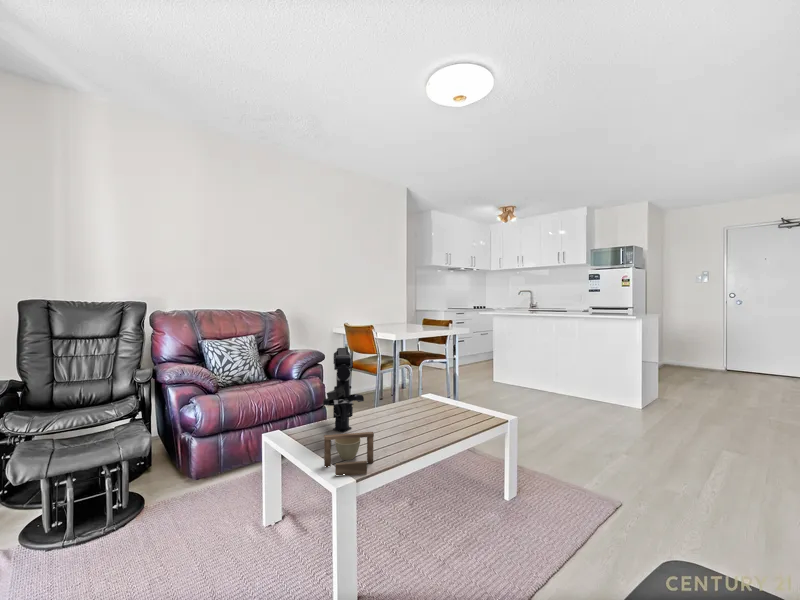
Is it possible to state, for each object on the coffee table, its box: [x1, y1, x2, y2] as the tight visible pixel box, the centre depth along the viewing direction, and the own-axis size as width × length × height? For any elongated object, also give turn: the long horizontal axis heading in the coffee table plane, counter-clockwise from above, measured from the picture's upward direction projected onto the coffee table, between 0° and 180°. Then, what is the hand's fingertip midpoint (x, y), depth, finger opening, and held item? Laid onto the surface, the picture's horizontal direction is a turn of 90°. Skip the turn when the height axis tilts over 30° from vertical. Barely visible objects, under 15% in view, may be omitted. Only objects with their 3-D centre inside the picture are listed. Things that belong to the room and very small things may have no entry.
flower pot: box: [334, 438, 362, 461], centre depth 152 cm, size 10×10×7 cm
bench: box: [323, 431, 375, 476], centre depth 142 cm, size 10×18×11 cm, turn 102°
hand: (343, 420), depth 166 cm, fingers closed
